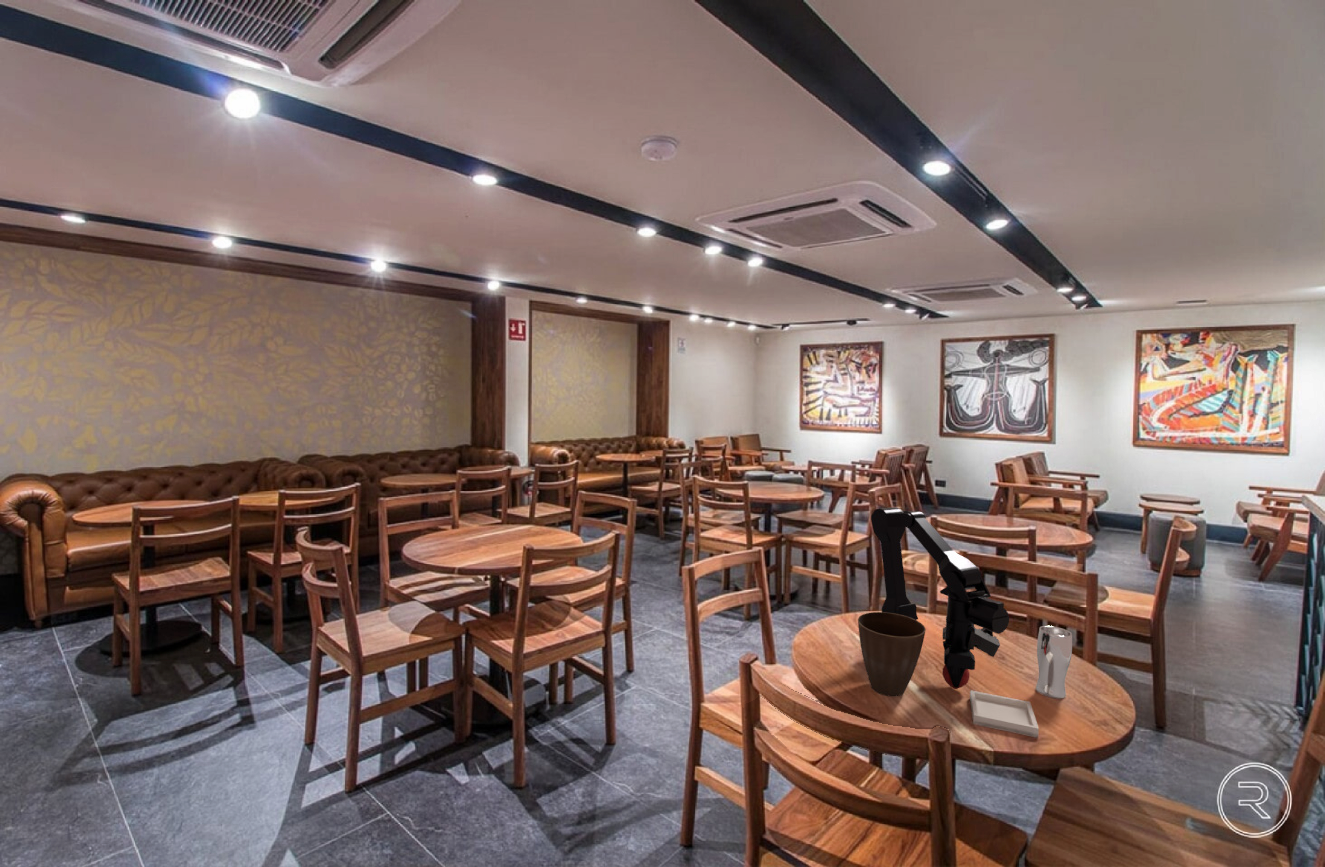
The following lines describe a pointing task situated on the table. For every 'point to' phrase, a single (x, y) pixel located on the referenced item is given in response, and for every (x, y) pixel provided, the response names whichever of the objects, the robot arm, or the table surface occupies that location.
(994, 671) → the table surface
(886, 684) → the plant pot
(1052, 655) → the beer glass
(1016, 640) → the table surface
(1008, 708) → the dish
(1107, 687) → the table surface
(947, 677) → the onion
